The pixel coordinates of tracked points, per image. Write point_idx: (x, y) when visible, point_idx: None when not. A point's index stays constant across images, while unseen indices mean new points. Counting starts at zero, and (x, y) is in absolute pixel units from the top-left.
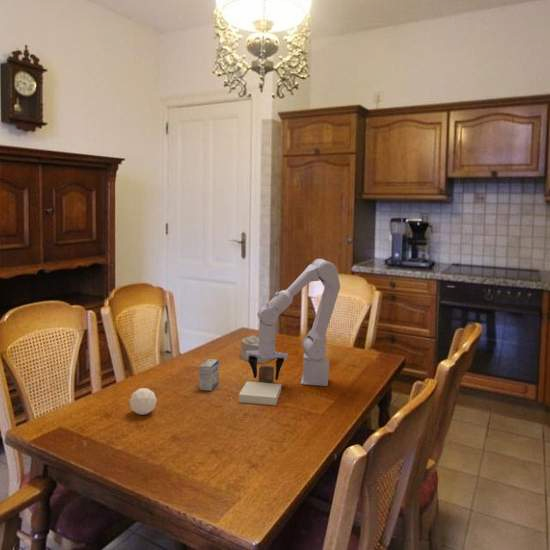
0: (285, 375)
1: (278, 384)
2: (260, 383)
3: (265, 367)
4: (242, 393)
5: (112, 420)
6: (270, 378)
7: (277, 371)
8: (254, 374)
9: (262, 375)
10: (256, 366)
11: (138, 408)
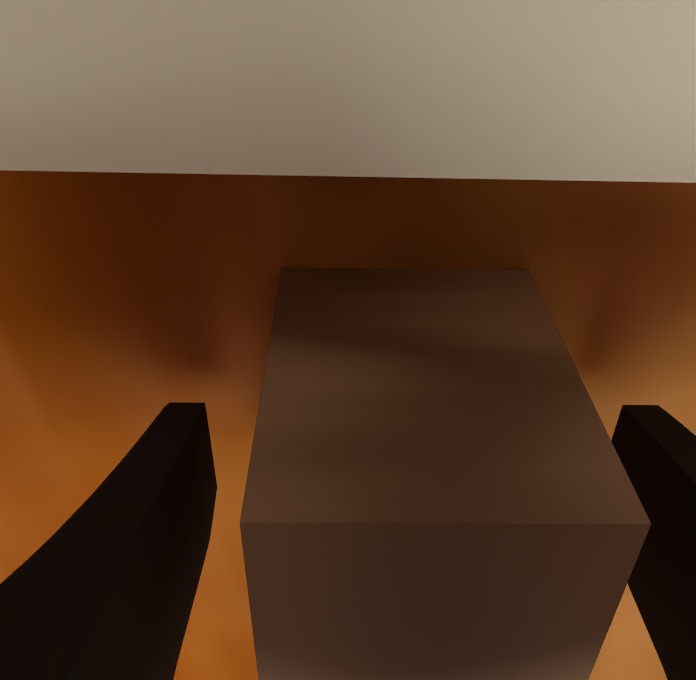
0: (187, 646)
1: (25, 126)
2: (516, 99)
3: (457, 662)
4: None
5: None
6: (293, 368)
7: (94, 536)
8: (689, 450)
9: (498, 409)
10: (689, 677)
11: None
